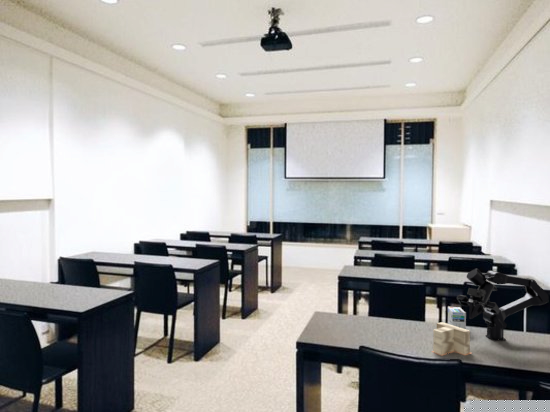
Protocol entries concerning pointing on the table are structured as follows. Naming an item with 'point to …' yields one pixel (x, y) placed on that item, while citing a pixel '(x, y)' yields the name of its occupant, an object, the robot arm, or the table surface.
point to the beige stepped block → (450, 339)
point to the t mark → (452, 352)
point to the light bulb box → (457, 317)
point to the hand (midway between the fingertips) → (470, 318)
